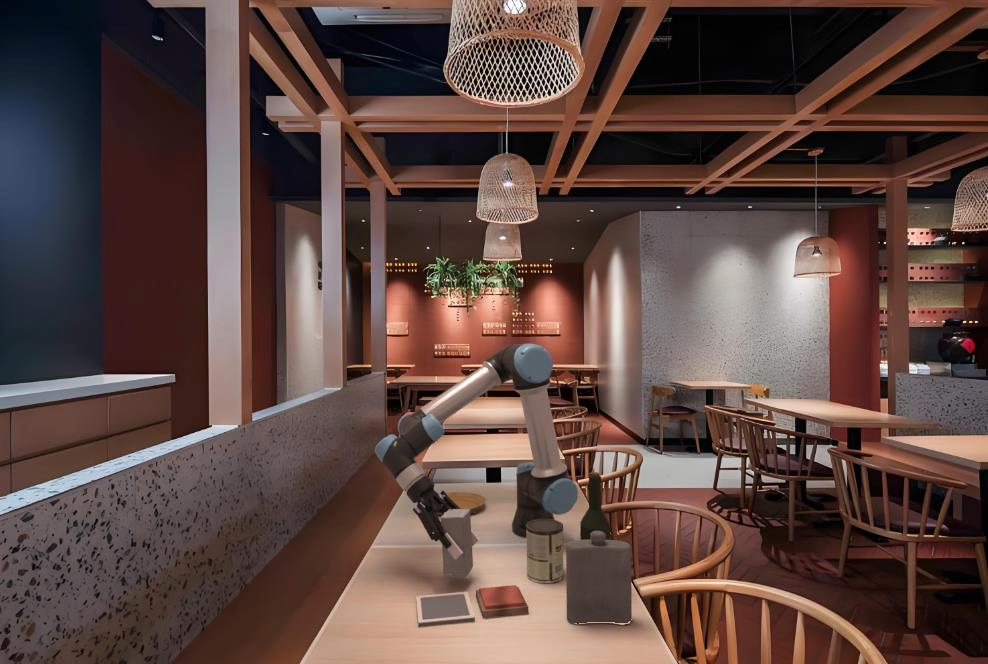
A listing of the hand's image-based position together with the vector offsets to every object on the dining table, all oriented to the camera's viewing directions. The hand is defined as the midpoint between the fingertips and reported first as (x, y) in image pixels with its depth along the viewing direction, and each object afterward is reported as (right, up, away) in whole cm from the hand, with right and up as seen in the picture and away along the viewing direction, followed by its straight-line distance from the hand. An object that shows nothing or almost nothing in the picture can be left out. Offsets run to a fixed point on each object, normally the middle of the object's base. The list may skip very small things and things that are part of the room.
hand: (467, 549), depth 145 cm
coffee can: (+21, -10, +6) cm, 24 cm away
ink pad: (+9, -9, -11) cm, 17 cm away
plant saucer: (-8, -11, +66) cm, 68 cm away
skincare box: (-3, -7, +1) cm, 7 cm away
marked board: (-5, -9, -13) cm, 17 cm away
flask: (+31, -9, -18) cm, 37 cm away
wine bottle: (+34, -9, -2) cm, 35 cm away
